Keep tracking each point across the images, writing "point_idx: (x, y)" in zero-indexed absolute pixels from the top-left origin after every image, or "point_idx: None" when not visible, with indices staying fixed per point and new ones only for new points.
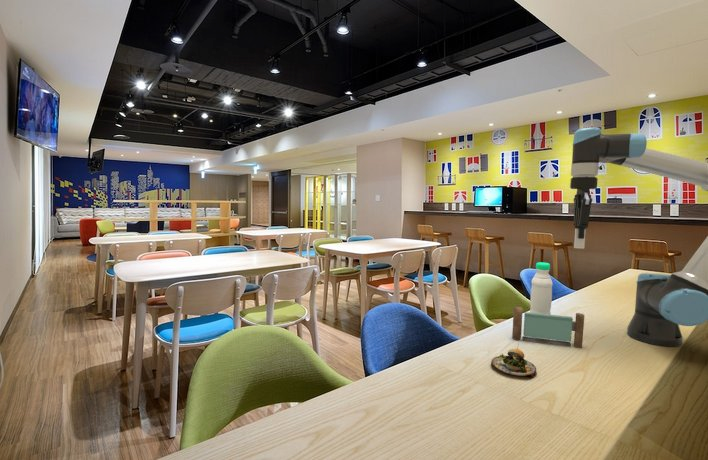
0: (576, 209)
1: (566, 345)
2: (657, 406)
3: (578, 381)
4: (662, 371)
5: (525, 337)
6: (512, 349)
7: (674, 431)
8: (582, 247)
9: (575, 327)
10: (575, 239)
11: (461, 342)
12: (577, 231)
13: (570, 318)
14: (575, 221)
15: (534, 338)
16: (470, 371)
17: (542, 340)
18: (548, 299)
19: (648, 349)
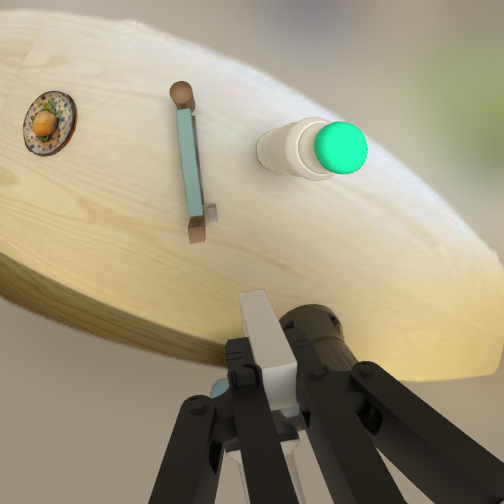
0: (390, 495)
1: None
2: (47, 288)
3: (54, 210)
4: (155, 321)
5: None
6: (38, 117)
7: (14, 289)
8: (243, 327)
9: (198, 219)
10: (250, 318)
11: (124, 27)
12: (255, 361)
13: (189, 211)
14: (346, 398)
15: None
16: (28, 77)
17: None
18: (279, 166)
19: None
